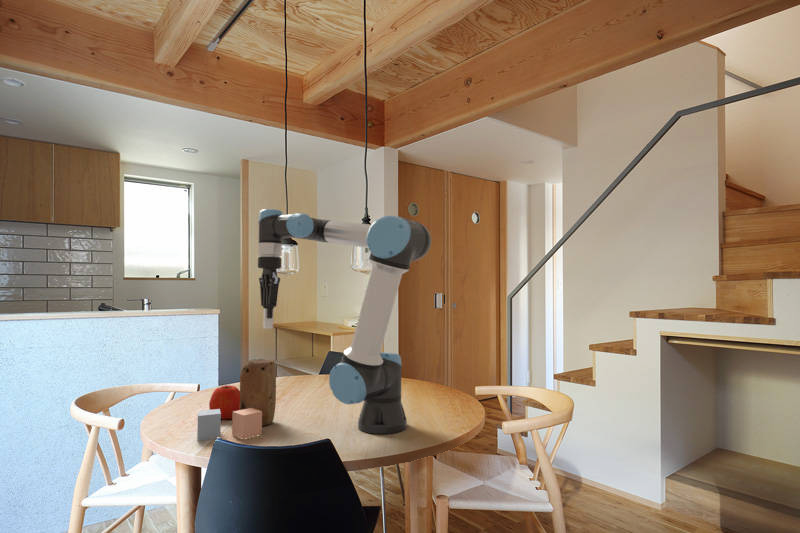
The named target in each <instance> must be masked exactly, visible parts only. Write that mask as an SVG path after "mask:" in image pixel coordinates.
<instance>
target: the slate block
mask: <svg viewBox="0 0 800 533" xmlns="http://www.w3.org/2000/svg"><path fill="white" fill-rule="evenodd" d="M221 420H222V419H221V412H220V409H213V410H210V409H204V410H198V411H197V433H196V435H197V442H201V441H209V440H216V439H215V438H217V437H220V438H221V428H222V425H221V423H222V422H221Z"/></svg>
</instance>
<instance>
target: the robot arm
mask: <svg viewBox="0 0 800 533" xmlns="http://www.w3.org/2000/svg"><path fill="white" fill-rule="evenodd" d="M258 217H259V219H258V243H257V255H258V258H257V268H258V269H262V274H261V277H259V278H258V280H259V291H260V306H262V308H263V317H262V318H263V319H262V320H263V321H262V324H263V325H262V328H263V329H264V330H266V329H267V330H268V329H269V330H270V329H274V309H275V308H276V307H277V304H278V303H277V302H278V297H279V296H278V295H279V286H280V282H281V278H280V277H278V271H277V270H281V269H282V257H281V256H282V252H283V250H284V248H283V247H282V246H283V239H301V240H308V241H315V242H321V243H330V244H337V245H345V246H353V247H361V248H365V249H366V248H367V249H368V250H369V252H370V254H369V257H368V260H369V262H370V264H371V266H372V267H371V271H370V275H369V278H368V281H367V285H366V289H365V293H364V297H363V299H362V304H361V308H360V312H359V315H358V318H357V322H356V326H355V331H354V334H353V337H352V341H351V345H350V346H349V347H348V348H345V349H344V351H343V353H342V354H343V355H342V357H341V360H340V362H339V363H337V364H335V365H334V366H333V367H332V369H331V370H330V372H329V376H328V382H329V383H328V385H329V388H330V390H331V391H332V395H333V396H334V398H335V399H336V400H337V401H338V402H340V403H342V404H344V405H355V404H360V403H362V402H363V404H362V408H361V410H360V414H359V417H358V419H357V422H358V423H357V428H358V430H360V431H362V432H364V433H368V434H375V435H387V434H396V433H400V432H403V431H405V430H406V429H407V427H408V420H407V415H406V413H405V409H404V406H403V402H402V367H403V365H402V358H401V357H402V356H401V355H400V354H398V353H395V352H393V353H392V352H382V348H383V345H384V344H383V343H384V340H385V337H386V333H387V329H388V325H389V323H390V318H391V315H392V311H393V309H394V304H395V301H396V298H397V294H398V291H399V287H400V284H401V280H402V277H403V276H402V275H404V274H405V273H407V272H409V270H410V268H411V264H412V261H419V260H421V259H422V258H424V257H425V256H426V255H427V254H428V253H429V251H430V249H431V247H432V236H431V233H430V230H428V228H427V227H426V225H424V224H423V223H421V222H418V221H415V220H410V219H409V218H404V217H401V216H397V215H385V216H384V215H383V216H381V217H379V218H378V219H376V220H375V221H374V222H373V223H372V224H368V223H367V224H366V223H358V222H356V223H355V222H347V221H339V220H337V221H336V220H329V219H321V218H315V217H312V216H310V215H309V214H307V213H299V212H295V213H292V214H291V213H290V214H289V213H288V214H284V213H283V211H282V210H279V209H276V208H275V209H274V208H266V209H265V208H264V209H261V210H260V211H259V216H258Z"/></svg>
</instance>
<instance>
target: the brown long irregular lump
mask: <svg viewBox="0 0 800 533" xmlns="http://www.w3.org/2000/svg"><path fill="white" fill-rule="evenodd" d="M239 379H240V380H239V391H240V407H239V408H240V410H243V409H248V408H253V409H256V410H260V411H262V427H263V426H268V425H270V424H271V423H272V424H273V422H274V420H275V411H276V403H277V402H276V400H277V367H276V361H275V360H274V359H265V358H258V359H251V360H248V361H247V362H246V363H245V364H244V365H243V366H242V370H241V373H240V377H239Z"/></svg>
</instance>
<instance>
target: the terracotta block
mask: <svg viewBox="0 0 800 533" xmlns="http://www.w3.org/2000/svg"><path fill="white" fill-rule="evenodd" d="M231 422H232V423H231V424H232V425H231V430H232V431H231V436H232V435H233V436H232V437H234V436H236V437H239V438H242V439H245V438H249V437H252V436H257V435H261V434H262V432H263V431H262V429H263V426H262V411H260V410H256V409H253V408H248V409H243V410H238V411H234V412H233V414H232V419H231ZM261 436H262V435H261ZM236 437H235V438H236ZM257 437H258V436H257ZM239 438H238V439H239Z"/></svg>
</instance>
